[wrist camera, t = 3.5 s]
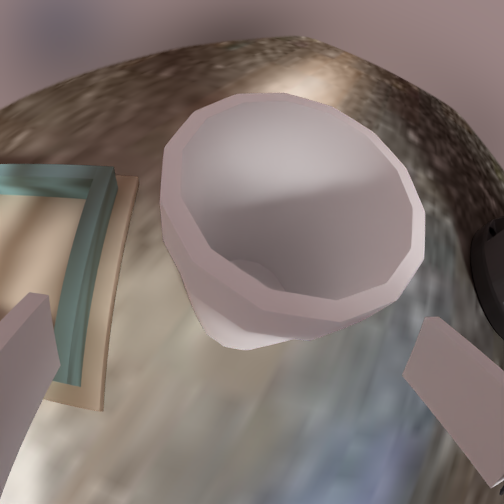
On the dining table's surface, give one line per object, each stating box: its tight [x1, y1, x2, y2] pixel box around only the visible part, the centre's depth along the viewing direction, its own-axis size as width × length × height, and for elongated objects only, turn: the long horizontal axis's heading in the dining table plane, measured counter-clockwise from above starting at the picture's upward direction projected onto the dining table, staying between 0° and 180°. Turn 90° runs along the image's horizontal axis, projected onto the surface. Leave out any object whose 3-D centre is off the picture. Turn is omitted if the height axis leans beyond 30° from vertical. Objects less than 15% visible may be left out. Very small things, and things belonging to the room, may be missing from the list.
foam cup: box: [160, 93, 425, 350], centre depth 16 cm, size 10×9×13 cm
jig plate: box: [0, 164, 139, 411], centre depth 17 cm, size 17×17×4 cm
